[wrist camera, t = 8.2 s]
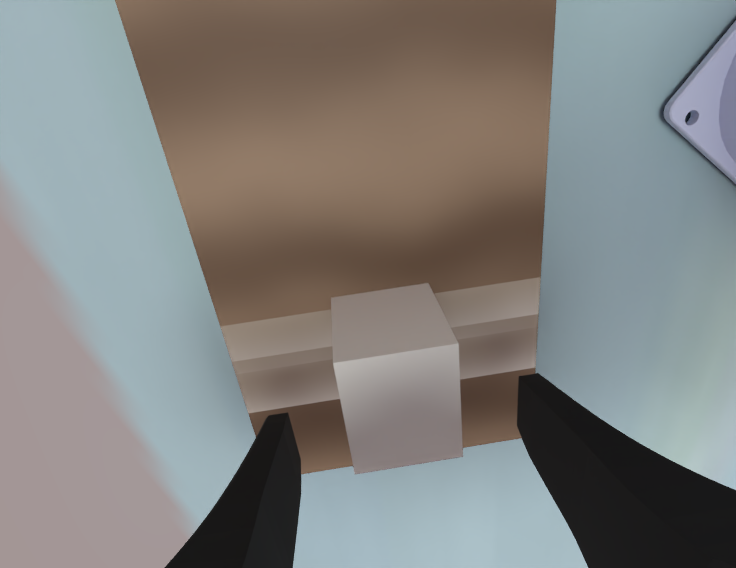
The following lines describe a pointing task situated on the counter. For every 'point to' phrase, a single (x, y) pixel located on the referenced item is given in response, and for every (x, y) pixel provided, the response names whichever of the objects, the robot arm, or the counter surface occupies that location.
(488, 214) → the socket board
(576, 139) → the counter surface
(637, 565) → the robot arm
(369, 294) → the plug
